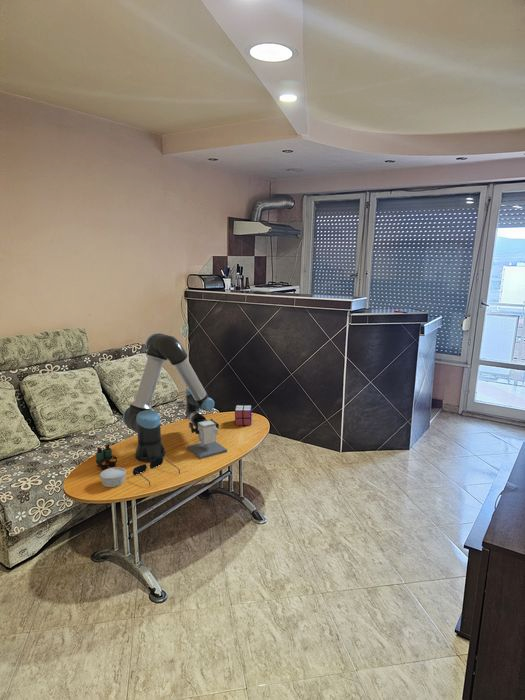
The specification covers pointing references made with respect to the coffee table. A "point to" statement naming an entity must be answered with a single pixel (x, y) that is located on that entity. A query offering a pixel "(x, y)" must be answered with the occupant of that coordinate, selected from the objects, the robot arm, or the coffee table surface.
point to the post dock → (207, 449)
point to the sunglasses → (152, 464)
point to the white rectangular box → (207, 431)
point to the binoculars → (105, 458)
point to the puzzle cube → (243, 415)
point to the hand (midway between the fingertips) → (209, 433)
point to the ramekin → (113, 476)
